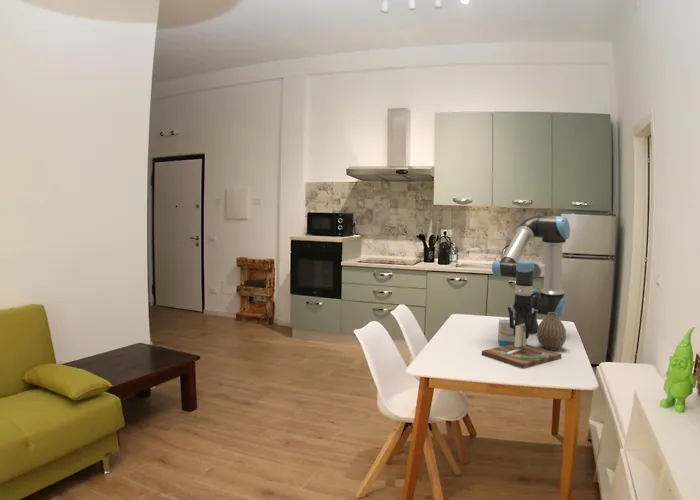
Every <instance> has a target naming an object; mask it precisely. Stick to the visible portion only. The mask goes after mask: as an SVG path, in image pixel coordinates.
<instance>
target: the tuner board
mask: <svg viewBox="0 0 700 500" xmlns="http://www.w3.org/2000/svg"><path fill="white" fill-rule="evenodd" d="M517 348H518V347H515V344H511V345H506V346H498V347H493V348H489V349H484V350H481V356H483V357H486V358H490V359H494V361H495V360H496V361H498V362H502V363H504V364H508V365H510V366H514V367H517V368H520V369H522V368H523V369H527V368H531V367H534V366H537V365H541V364H545V363H549V362H552V361H556V360H561V359H562V354H561V353H559V352H555V351H553V350H548V349H544V348H541V347H538V346H534V345H530V344H528V343H527V344H526V345H525V346H523V350H521V351H518V352H516V353H513V354H510V355H508V354H506V353H507V352H509V351H512V350H515V349H517Z"/></svg>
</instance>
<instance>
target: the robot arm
mask: <svg viewBox="0 0 700 500" xmlns="http://www.w3.org/2000/svg"><path fill="white" fill-rule="evenodd" d="M570 233H571V229H570V223H569V220H568V218H567V217H565V216H561V215H560V216H559V215H533V216H531V217H528V218H526V219H524V220H523V221H522V222H521V223H520V224H519V225H518V226H517V227H516V229H515V231H514V236H513V238H512V240H511V241H510V244H509V245H508V247H507V249H506V251H505V253H504V254H503V257H502V258H501V259H500V260H494V261H493V263H492V266H491V272H492V274H493V276H496V277H497V276H498V277H502V278H514V279H515V288H514V289H515V291H514V293H515V294H514V303H513V305H510V306H507V311H508V313H509V315H508V317H509V319H508V320H509V321H510V328H512V329H514V337H515V328H516V326H517V325H520V324H525V331H524V335H523V346H525V345H526V339H527V340H528V339H529V338H530V334H532V335H533V334H537V329H538V326H539V324H538V319H537V315H542V316H547V314H548V312H553V313H557V314H558V317H559V318H561V317H563V315H565V313H566V309H567V306H568V299H569V297H568V296H567V295H565V291H564V290H563V289H562V275H563V274H562V271H563V270H562V269H563V268H562V267H563V245H565V243H566V242H567V241H566V240H568V239H569V238H570ZM534 238H539V239H541V242H542V244H544V263H543V264H544V266H543V269H542V267H541V265H539V263H535V262H534V261H532V260H520V259H521V256H522V255H523V253H524V251H525V250H526V247H527V245H528V244H529V242H530V241H531V240H533V239H534ZM543 270H544V271H543ZM543 272H544V273H543ZM542 273H543V288H542V289H541V290H540V292H539V290H538V289H535V288H534V287H533V286H534V280H536V279H538V278H539V277H541V275H542ZM514 320H515V324H514Z"/></svg>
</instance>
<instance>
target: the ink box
mask: <svg viewBox="0 0 700 500" xmlns="http://www.w3.org/2000/svg"><path fill="white" fill-rule="evenodd" d="M514 324H515V320H514ZM497 332H498V333H497V343H498V345H499V347H501V346H506V345H511V344H515V337H514V329H512V328H510V321H509V319H501V318H500V319H498V331H497Z"/></svg>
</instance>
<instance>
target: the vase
mask: <svg viewBox="0 0 700 500" xmlns="http://www.w3.org/2000/svg"><path fill="white" fill-rule="evenodd" d="M536 337H537V341H538V343H539V345H540V346H541V347H542V349H545V350H548V351H558V350H559V349H561V348H562V347H563V346H564V344H565V342H566V339H567V332H566V328H565V326H564V323H563V322H562V321H561V319H560V317H558V314H557V313H553V312H548V314H547V315H545V317H544V318H543V320H541V322H540V323H539V324H538V329H537V333H536Z"/></svg>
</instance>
